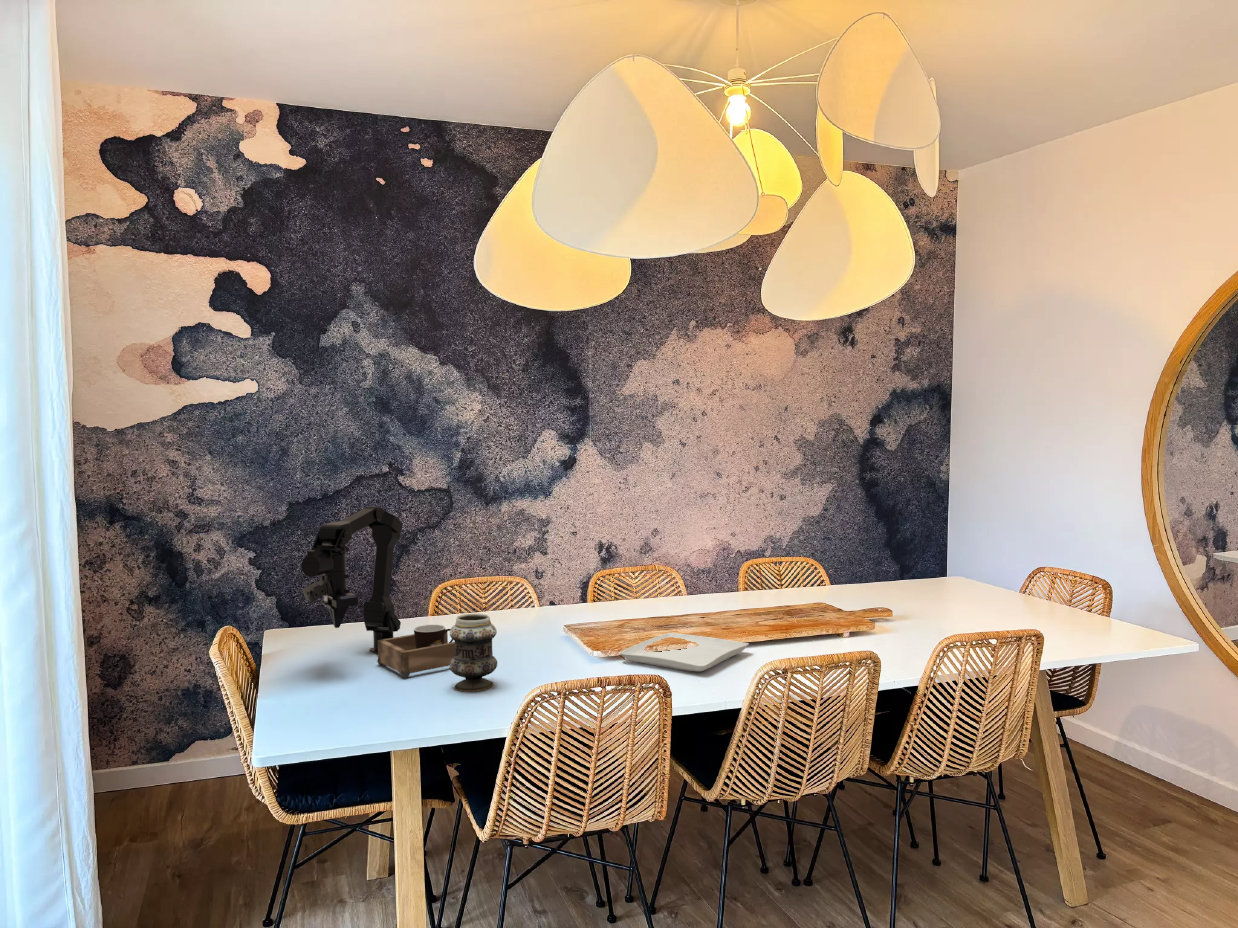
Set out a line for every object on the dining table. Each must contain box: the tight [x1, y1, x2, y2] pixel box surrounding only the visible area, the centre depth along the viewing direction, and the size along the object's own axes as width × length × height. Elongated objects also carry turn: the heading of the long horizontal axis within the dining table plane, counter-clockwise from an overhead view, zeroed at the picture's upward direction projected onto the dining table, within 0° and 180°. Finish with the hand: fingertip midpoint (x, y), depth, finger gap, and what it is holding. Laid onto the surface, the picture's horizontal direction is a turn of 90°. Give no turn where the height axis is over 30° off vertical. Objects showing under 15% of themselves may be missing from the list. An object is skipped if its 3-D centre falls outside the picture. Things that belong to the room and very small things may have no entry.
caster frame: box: [377, 628, 455, 679], centre depth 255 cm, size 18×21×7 cm
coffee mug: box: [413, 624, 454, 649], centre depth 256 cm, size 12×9×10 cm
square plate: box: [618, 632, 750, 672], centre depth 258 cm, size 27×27×4 cm
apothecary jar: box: [449, 613, 498, 693], centre depth 234 cm, size 12×12×18 cm
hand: (336, 627), depth 250 cm, fingers closed
